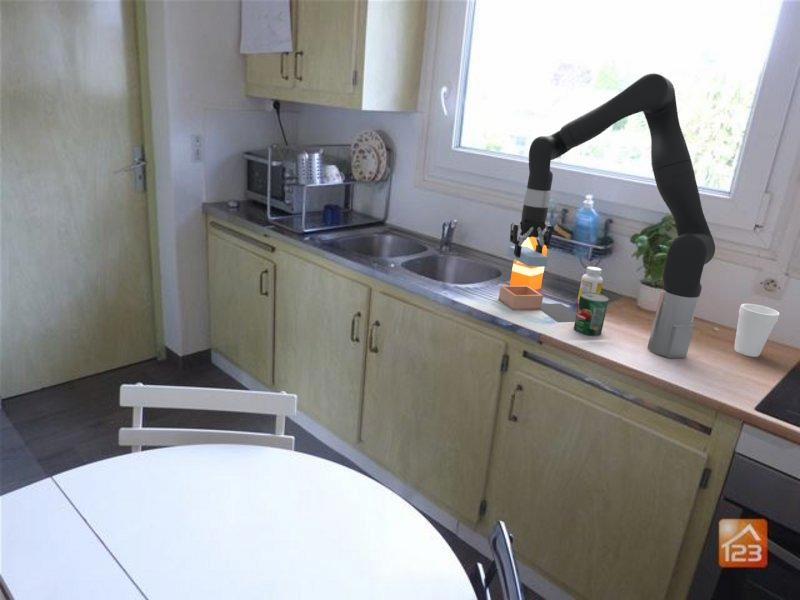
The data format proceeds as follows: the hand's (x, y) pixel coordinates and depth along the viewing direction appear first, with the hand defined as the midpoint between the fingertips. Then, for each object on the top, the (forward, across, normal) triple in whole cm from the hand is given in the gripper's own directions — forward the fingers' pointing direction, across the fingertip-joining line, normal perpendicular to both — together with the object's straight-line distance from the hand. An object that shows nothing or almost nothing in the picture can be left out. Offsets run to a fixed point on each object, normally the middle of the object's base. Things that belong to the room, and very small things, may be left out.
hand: (527, 257), depth 178 cm
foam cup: (+16, +51, -41) cm, 67 cm away
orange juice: (+16, +12, +18) cm, 27 cm away
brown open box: (+16, 0, 0) cm, 16 cm away
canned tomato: (+16, +10, -23) cm, 30 cm away
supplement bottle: (+16, +25, -1) cm, 30 cm away
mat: (+16, +10, -8) cm, 21 cm away
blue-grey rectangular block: (+1, 0, 0) cm, 1 cm away
